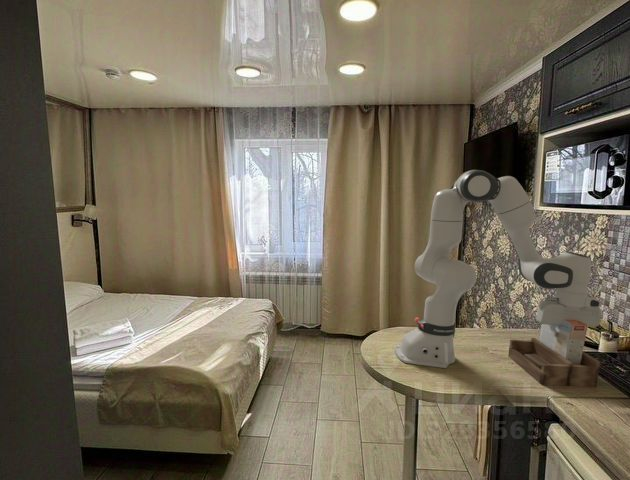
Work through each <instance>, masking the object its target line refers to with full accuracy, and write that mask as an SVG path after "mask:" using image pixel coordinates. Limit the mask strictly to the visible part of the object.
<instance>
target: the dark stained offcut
mask: <svg viewBox="0 0 630 480" xmlns="http://www.w3.org/2000/svg"><path fill="white" fill-rule="evenodd" d="M524 357H526V358H527V359H528V360H529V361H531V362H532V363H533V364H535V365H536V366H537V367H538V368H540V369H541V367H542V364H550V363H549V362H547V361H546V360H544V359H542V358H541V357H539V356H538V355H536V354H524Z"/></svg>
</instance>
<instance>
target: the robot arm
mask: <svg viewBox="0 0 630 480" xmlns="http://www.w3.org/2000/svg"><path fill="white" fill-rule="evenodd" d="M481 202H482V203H483V202H489V204H491V206H492V208H493V210H494V212H495V214H496V216H497V218H498V220H499V222H500V224H501V225H502V227H503V228H504V230H505V231H506V233H507V234H508V236H509V239H510V242H511V243H512V246H513V249H514V251H515V253H516V254H517V258H518V273H519V274H520V276H521V277H522V279H525V281H528V282H531V283H532V284H534V285H536V286H538V287H540V288H543V289H547V290H549V289H550V290H551V289H555V294H554V297H544V298H542V299H540V300H539V303H538V308H537V310H536V311H537V312H536V315H535V319H536V321H537V323H540V324H541V325H542V324H547V325H549V327H550V329H551V330H552V331H551V335H552V336H553V337H558V336H559V332H557V331H556V329H555V328H557V325H563V322H564V320H577V321H581V322H583V323H585V324H587V327H594V328H595V327H598V326H599V325H601V320H602V310H601V307H603V306H602V305H603V303H602V301H600V300H599V299H597V298H594V297H591V296H590V295H588V293H589V290H588V285H589V283H590V281H591V273H592V263H591V262H592V261H591V259H590V257H588V256H587V255H584V254H581V253H578V252H574V251H564V252H563V253H561V254H559V255H557V256H554V257H550V258H545V257H543V256H542V255H540V253H539V252H538V250H537V248H536V246H535V244H534V242H533V239H532V237H531V233H530V230H531V229H530V228H531V227H532V226H533V225H534V224H535V221H536V218H537V216H536V212H535V208H534V205H533V204H532V201H531V199H530V198H529V196H528V194H527V192H526V191H525V189H524V188H523V186H522V185H521V183H520V182H519V181H518V179H517V178H516V177H514V176H511V175H505V176H501V177H495V176H494V175H492V174H491V173H489V172H487V171H485V170H481V169H471V170H468V171H465V172H463V173H461V174H460V175H459V176H458V177H457V178H456V180H455V181H454V183H453V185H452V186H451V187H450V188H446V189H441V190H440V191H437V193H435V195H434V198H433V201H432V207H431V212H430V213H431V214H430V221H429V222H430V223H429V224H430V225H429V235H428V242H427V245H426V248H425V249H424V251H423V253H422V254H420V255H419V256H418V257H417V258H416V260H415V262H414V267H413V268H414V272H415V274H416V275H417V276H418V277H420V278H421V279H423V281H426V282H428V283H431V284H435V285H436V287H435V292H434V293H433V294H431V295H430V296H427V298H426V299H425V301H424V312H423V318H422V319H420V318H419V317H417V316H416V317H415V318H414V322H415V323H416V324H417V327H416V328H415V329H412V330H411V331H409V332H407V333H405V334H404V335H403V336H402V339H401V342H400V344H396V345H395V347H394V353H395V355H396V357H397V358H398V359H399V360H400V361H401V362H403V363H406V364H412V365H418V366H419V365H420V366H425V367H426V366H427V367H435V368H443V369H446V368H448V367H449V366H450V365H452V364H454V363H455V361H456V355H455V348H454V338H455V333H456V323H455V321H456V320H455V319H456V311H457V307H458V303H459V301H460V298H461V297H462V296H463V295H464V294H465V293H467V292H468V291H470V290H471V289H472V288H473V287H474V286H475V284H476V282H477V272H476V269H475V268H474V267H473V266H472V265H470V264H468V263H466V262H464V261H462V260H459V259H455V258H451V257H450V255H451V252H452V249H453V248H454V247H457V246H458V245H460V243H461V241H462V237H463V226H464V225H463V223H464V211H465V207H466V206H467V204H469V203H481Z"/></svg>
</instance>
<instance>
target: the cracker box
mask: <svg viewBox="0 0 630 480" xmlns="http://www.w3.org/2000/svg"><path fill="white" fill-rule="evenodd" d="M540 327H541V328H540V333H539V339H538V341H540V342H541V343H543V344H544V345H546V346H547V347H549V348H550V349H552V350H553V351H555V352H556V353H558V354H559V355H561V356H562V357H564V358H565V359H567V360H568V361H570V362H571V363H573V365H580V364H581V358H582V353H583V352H584V346H585V341H586V336H587V330H588V326H587V324H585V323H583V322H581V321H577V320H564V322H563V325H557V328H555V329H556V331H557V332H559V336H558V337H553V336H552V335H551V331H552V330H551V329H550V327H549V325H547V324H541V326H540Z"/></svg>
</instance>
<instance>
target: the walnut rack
mask: <svg viewBox="0 0 630 480" xmlns="http://www.w3.org/2000/svg"><path fill="white" fill-rule="evenodd" d="M508 347H509V348H508V355H507V356H508V358H509V359H511V360H512V361H513V362H514V363H516V364H517V365H518V366H519V367H520V368H521V369H522V370H524V371H525V372H526V373H527V374H528V375H529V376H531V377H532V378H533V379H534V380H536V382H537V383H539V384H540V385H541V386H559V387H581V388H582V387H583V388H585V387H586V388H597V385H598V379H599V374H600V367H601V361H600V360H598V359H596V358H595V357H593V356H591V355H589V354H588V353H586V352H585V351H583V353H582V358H581V364H580V365H573V363H571V362H570V361H568V360H567V359H565V358H564V357H562V356H561V355H559V354H558V353H556V352H555V351H553V350H552V349H550V348H549V347H547V346H546V345H544V344H543V343H541V342H540V341H539V339H537V338H535V337H531V339H530V340H529V339H509V346H508ZM524 354H536V355H538V356H539V357H541V358H542V359H544V360H546V361H547V362H549V363H550V364H542V367H541V369H540V368H538V367H537V366H536V365H535V364H533V363H532V362H531V361H529V360H528V359H527V358H526V357H524Z"/></svg>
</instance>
